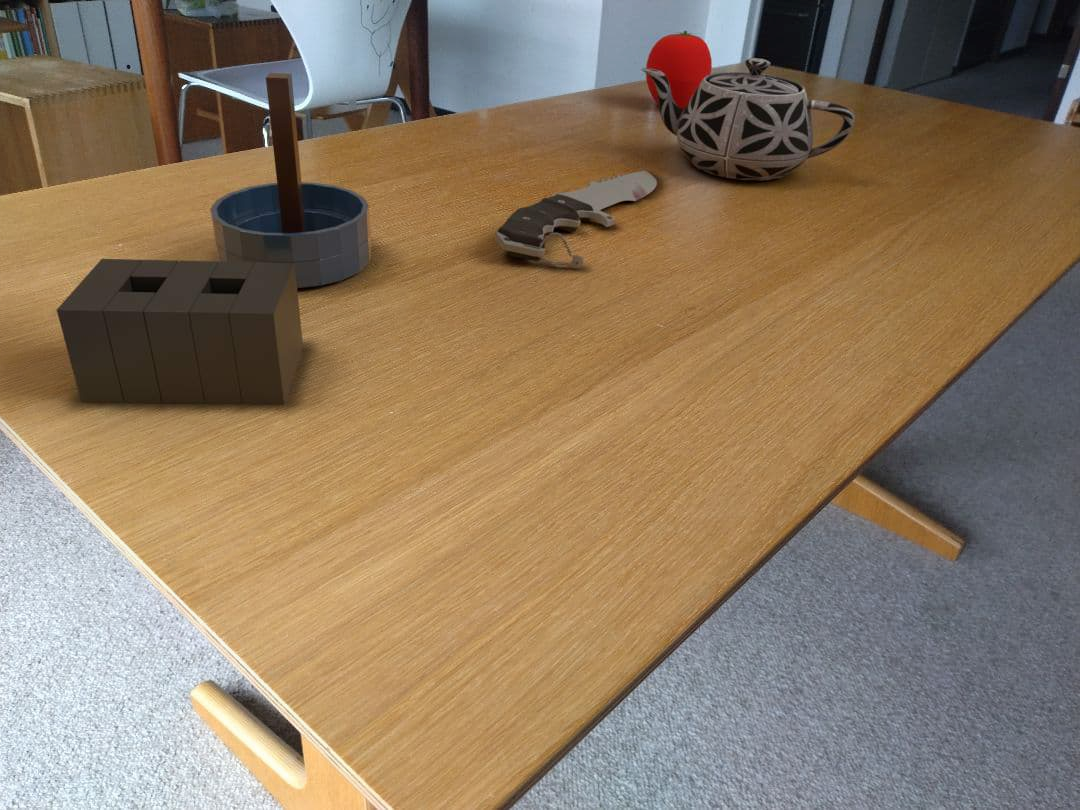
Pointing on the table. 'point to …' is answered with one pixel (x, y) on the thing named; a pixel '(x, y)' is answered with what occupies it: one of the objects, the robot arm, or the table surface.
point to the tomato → (680, 65)
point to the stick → (286, 151)
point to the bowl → (318, 254)
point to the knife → (568, 215)
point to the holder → (184, 332)
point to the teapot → (747, 123)
